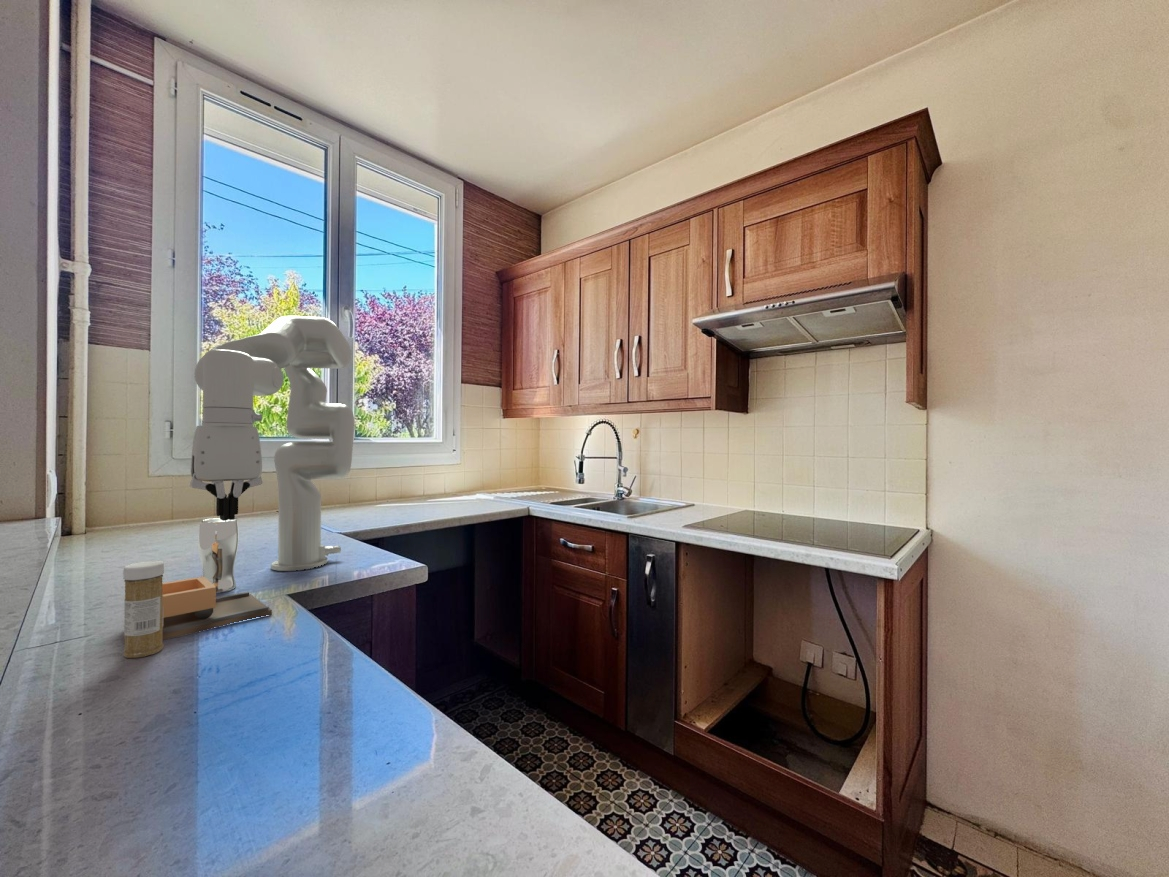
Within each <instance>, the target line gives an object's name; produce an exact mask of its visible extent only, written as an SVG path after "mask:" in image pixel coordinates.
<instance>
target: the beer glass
mask: <svg viewBox="0 0 1169 877" xmlns="http://www.w3.org/2000/svg"><path fill="white" fill-rule="evenodd" d="M238 520H239V519H238V518H236V517H235V519H234V520H230V519H228V520H225V521H223V520H221V519H220V517H216V518H207V519H202V520H200V521H199V526H198V537H197V538H198V539H197V541H198V542H197V543H198V544H197V545H198V546H197V548H198V554H199V559H200V564H201V568H202V577H203V576H204V577H205V578H206V579H207V580H208V581H209V582H211V583H212V584H213V585H214V586H215V587H216V593H217V594H221V593H220V592H223V593H226V592H225V591H227V592H230V591H229V590H231V591H233V590H235V589H236V588H235V587H237V584H236V580H235V574H234V573H235V572H234V569H235V564H236V560H237V553H238V548H239V542H240V541H239V539H240V538H239V536H240V534H239V524H238ZM234 588H235V589H234ZM232 589H233V590H232Z"/></svg>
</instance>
